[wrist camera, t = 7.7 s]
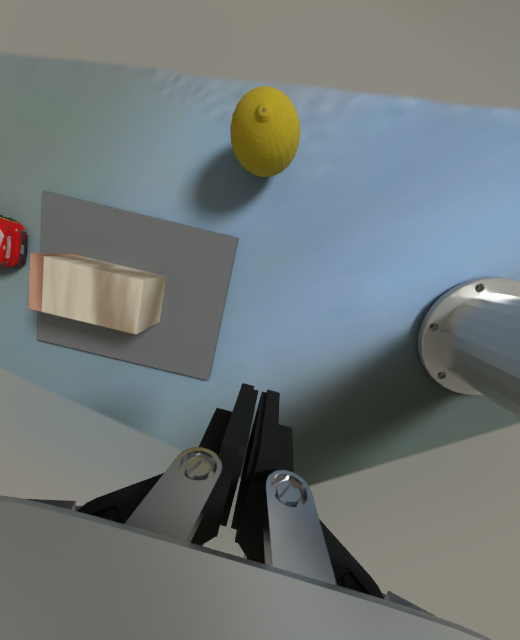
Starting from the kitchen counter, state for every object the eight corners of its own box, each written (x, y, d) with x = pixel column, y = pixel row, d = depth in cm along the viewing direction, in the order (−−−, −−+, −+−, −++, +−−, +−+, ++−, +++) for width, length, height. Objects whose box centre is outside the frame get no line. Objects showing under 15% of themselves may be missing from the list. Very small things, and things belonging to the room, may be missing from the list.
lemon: (265, 199, 26) (262, 174, 18) (225, 155, 25) (204, 109, 18) (307, 155, 25) (323, 109, 17) (267, 108, 24) (265, 37, 17)
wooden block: (143, 280, 23) (30, 253, 23) (136, 334, 24) (28, 308, 24) (166, 276, 28) (72, 254, 28) (159, 321, 29) (70, 300, 29)
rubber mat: (238, 238, 27) (237, 237, 26) (209, 378, 31) (208, 380, 30) (47, 191, 27) (42, 190, 26) (41, 337, 31) (36, 339, 30)
